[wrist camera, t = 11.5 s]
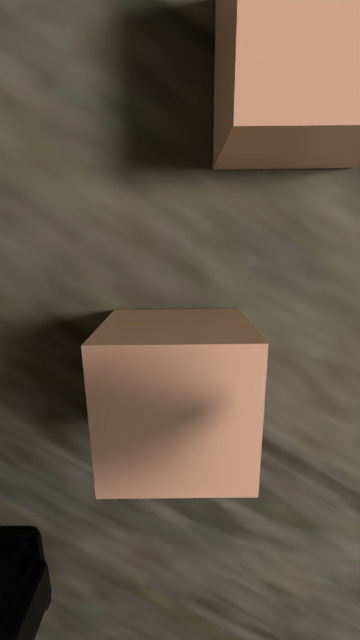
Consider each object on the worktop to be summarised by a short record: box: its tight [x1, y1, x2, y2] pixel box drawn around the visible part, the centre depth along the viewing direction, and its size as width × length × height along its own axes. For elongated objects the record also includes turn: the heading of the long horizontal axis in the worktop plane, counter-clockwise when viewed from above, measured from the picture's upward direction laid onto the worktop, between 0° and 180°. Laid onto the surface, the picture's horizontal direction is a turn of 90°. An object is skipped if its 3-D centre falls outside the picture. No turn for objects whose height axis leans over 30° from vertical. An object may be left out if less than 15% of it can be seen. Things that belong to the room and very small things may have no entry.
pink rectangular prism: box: [81, 309, 268, 499], centre depth 14 cm, size 6×6×6 cm
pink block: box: [213, 0, 360, 169], centre depth 11 cm, size 6×6×6 cm
